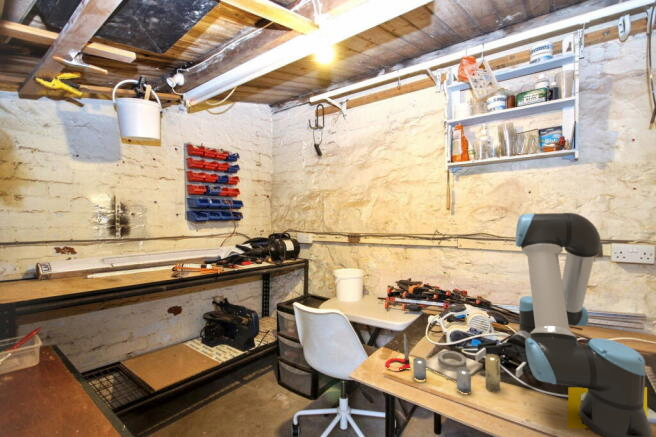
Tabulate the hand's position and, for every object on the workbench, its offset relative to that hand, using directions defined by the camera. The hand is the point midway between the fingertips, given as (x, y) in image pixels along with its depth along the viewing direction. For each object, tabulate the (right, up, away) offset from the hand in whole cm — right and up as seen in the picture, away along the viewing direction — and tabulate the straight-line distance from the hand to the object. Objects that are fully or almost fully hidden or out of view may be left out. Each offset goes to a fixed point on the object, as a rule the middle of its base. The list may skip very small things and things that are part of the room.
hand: (495, 365), depth 111 cm
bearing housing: (-11, -6, +12) cm, 17 cm away
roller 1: (-25, -7, +5) cm, 26 cm away
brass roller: (-2, -7, -2) cm, 7 cm away
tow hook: (-31, -7, +14) cm, 35 cm away
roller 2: (-12, -7, -2) cm, 14 cm away
